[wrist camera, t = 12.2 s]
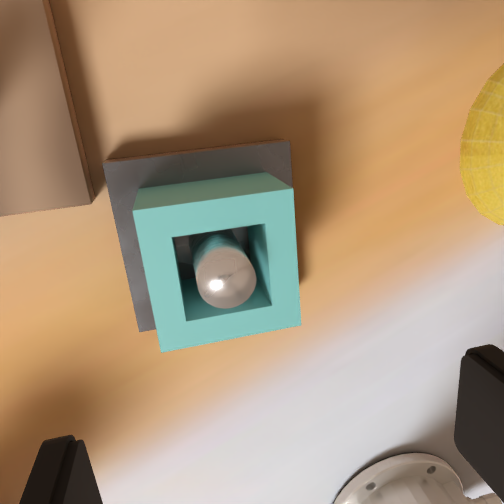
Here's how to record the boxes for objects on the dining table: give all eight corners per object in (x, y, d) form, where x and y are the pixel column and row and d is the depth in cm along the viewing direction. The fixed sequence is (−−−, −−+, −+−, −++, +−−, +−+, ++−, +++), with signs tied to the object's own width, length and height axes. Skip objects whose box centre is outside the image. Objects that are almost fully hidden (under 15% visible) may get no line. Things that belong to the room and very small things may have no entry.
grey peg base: (282, 139, 24) (332, 152, 17) (292, 292, 27) (336, 355, 20) (105, 160, 22) (80, 183, 15) (140, 320, 26) (133, 398, 19)
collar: (266, 172, 23) (293, 188, 18) (275, 285, 25) (301, 325, 21) (138, 188, 22) (132, 210, 17) (161, 305, 24) (161, 352, 19)
